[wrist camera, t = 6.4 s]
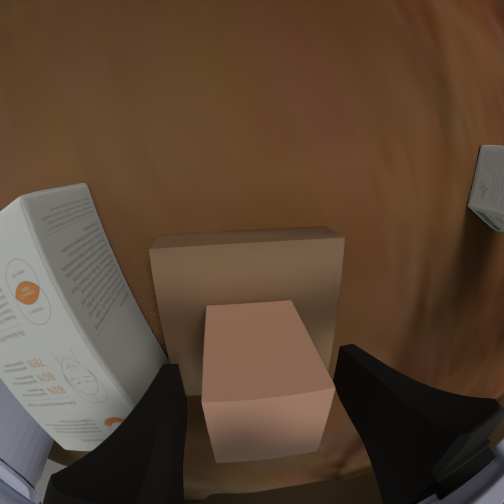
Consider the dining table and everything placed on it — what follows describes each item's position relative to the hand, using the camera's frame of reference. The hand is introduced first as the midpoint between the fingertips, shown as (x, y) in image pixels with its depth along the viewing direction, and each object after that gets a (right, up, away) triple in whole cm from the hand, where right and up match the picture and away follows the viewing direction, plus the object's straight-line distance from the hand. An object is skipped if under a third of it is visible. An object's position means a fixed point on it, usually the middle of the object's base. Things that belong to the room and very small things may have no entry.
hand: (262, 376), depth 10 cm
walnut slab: (-1, +2, +6) cm, 6 cm away
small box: (-12, +7, -1) cm, 14 cm away
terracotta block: (0, +1, +3) cm, 3 cm away
